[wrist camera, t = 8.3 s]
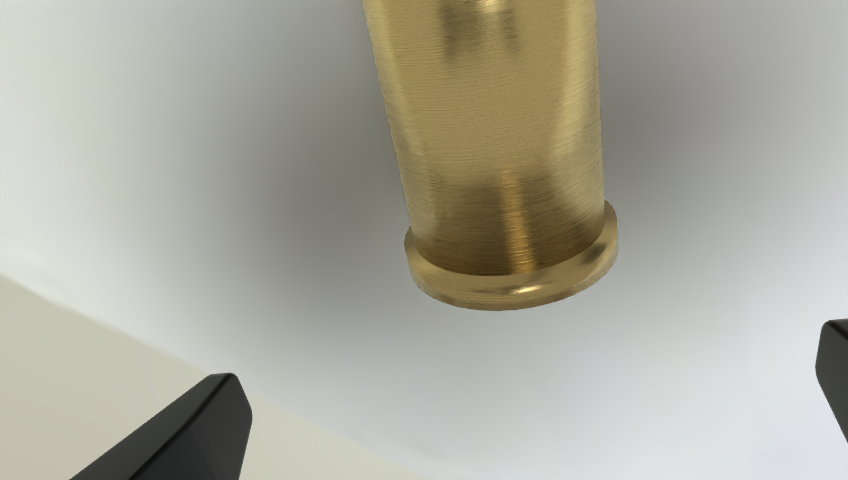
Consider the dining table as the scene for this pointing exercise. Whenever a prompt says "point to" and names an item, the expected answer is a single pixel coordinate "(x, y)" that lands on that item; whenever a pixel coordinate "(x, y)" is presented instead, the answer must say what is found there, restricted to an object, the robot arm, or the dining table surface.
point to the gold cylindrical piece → (497, 146)
